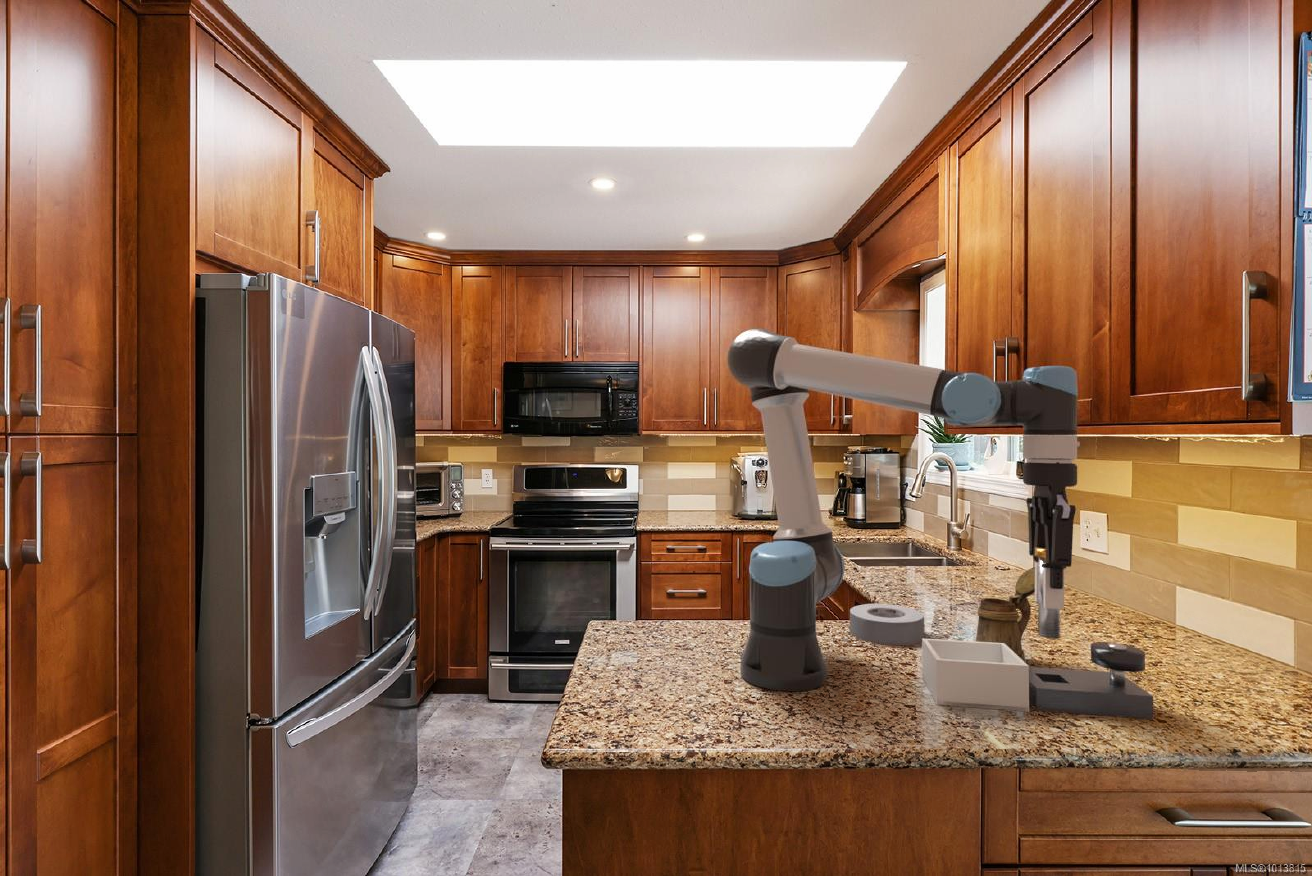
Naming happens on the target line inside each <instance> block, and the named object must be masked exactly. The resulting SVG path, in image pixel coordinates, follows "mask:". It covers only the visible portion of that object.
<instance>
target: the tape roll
mask: <svg viewBox="0 0 1312 876" xmlns="http://www.w3.org/2000/svg"><path fill="white" fill-rule="evenodd" d="M849 632H850V634H851V635H852V637H855V638H856V639H859V640H863V641H865V642H869V643H874V644H880V645H887V646H888V645H889V646H909V645H910V646H911V645H916V644H920V643H922V638H923V639H925V616H924V614H923V613H922V611H919V610H917V609H915V608H911V607H908V606H903V605H897V604H889V603H864V604H860V605H855V606H853V607H851V608H850V609H849Z"/></svg>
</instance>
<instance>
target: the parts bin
mask: <svg viewBox="0 0 1312 876" xmlns="http://www.w3.org/2000/svg"><path fill="white" fill-rule="evenodd" d="M1029 667H1030V666H1029V665H1028V664H1027V662H1026V663H1025V662H1024V661H1023V660H1022V659H1021V658H1020V657H1019V656H1017V655H1016V654H1015V653H1014V652H1013V651H1012V650H1011V649H1010V648H1009V647H1008V646H1007V645H1006V644H1005V643H992V642H976V641H974V640H973V641H972V640H954V639H938V638H937V639H936V638H924V639H923V638H922V642H921V669H922V670H921V672H922V673H921V674H922V675H921V676H922V681H923V683H924V685H926V687H927V689H928V691H929V692H930V694H931V696H932V698H933V700H934V702H935V704H936V705H941V706H953V707H954V706H955V707H963V708H964V707H965V708H966V707H967V708H979V709H992V710H1004V711H1007V710H1008V711H1016V712H1030V703H1029Z"/></svg>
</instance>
